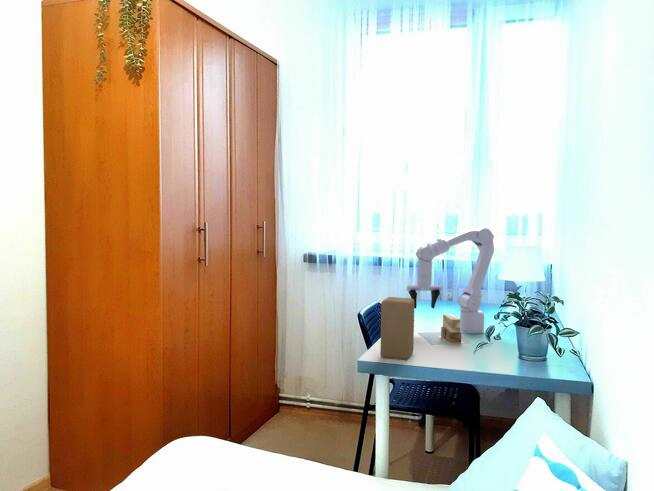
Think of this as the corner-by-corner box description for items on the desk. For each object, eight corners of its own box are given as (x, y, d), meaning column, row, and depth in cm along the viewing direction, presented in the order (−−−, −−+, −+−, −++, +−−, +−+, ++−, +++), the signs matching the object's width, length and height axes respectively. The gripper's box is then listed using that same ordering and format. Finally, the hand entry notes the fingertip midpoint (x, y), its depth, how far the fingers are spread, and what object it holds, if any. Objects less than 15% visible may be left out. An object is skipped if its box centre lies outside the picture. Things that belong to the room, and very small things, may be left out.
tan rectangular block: (451, 326, 228) (451, 314, 228) (460, 332, 218) (460, 319, 218) (442, 326, 227) (443, 314, 227) (451, 332, 218) (451, 319, 217)
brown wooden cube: (451, 336, 228) (452, 326, 228) (455, 339, 224) (456, 329, 224) (441, 336, 228) (441, 326, 228) (444, 339, 223) (445, 329, 223)
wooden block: (413, 353, 202) (415, 298, 201) (408, 360, 193) (409, 302, 191) (386, 351, 205) (387, 296, 204) (379, 358, 196) (380, 300, 194)
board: (454, 332, 237) (454, 332, 237) (472, 344, 217) (472, 343, 217) (416, 333, 235) (416, 332, 235) (431, 345, 215) (431, 344, 215)
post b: (457, 339, 223) (457, 329, 222) (461, 342, 218) (461, 332, 218) (446, 340, 222) (446, 330, 222) (449, 342, 218) (450, 332, 217)
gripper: (410, 276, 229) (409, 309, 230) (444, 276, 231) (443, 309, 232) (405, 274, 236) (404, 306, 237) (439, 274, 238) (438, 306, 239)
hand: (423, 307), depth 235 cm, fingers open, 7 cm apart
